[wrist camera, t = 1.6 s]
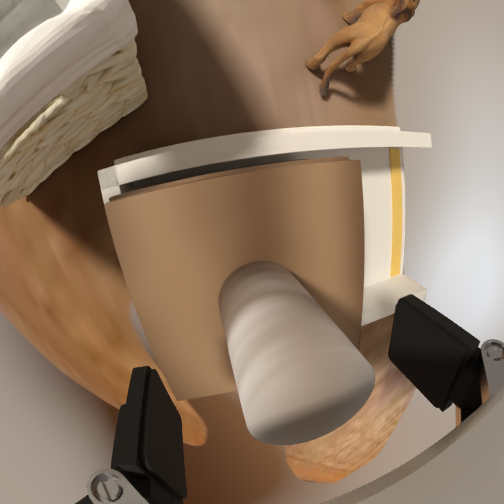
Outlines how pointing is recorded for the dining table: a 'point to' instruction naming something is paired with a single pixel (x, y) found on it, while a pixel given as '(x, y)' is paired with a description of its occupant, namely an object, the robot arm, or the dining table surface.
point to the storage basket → (61, 83)
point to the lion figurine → (363, 34)
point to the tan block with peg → (254, 289)
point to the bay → (305, 147)
